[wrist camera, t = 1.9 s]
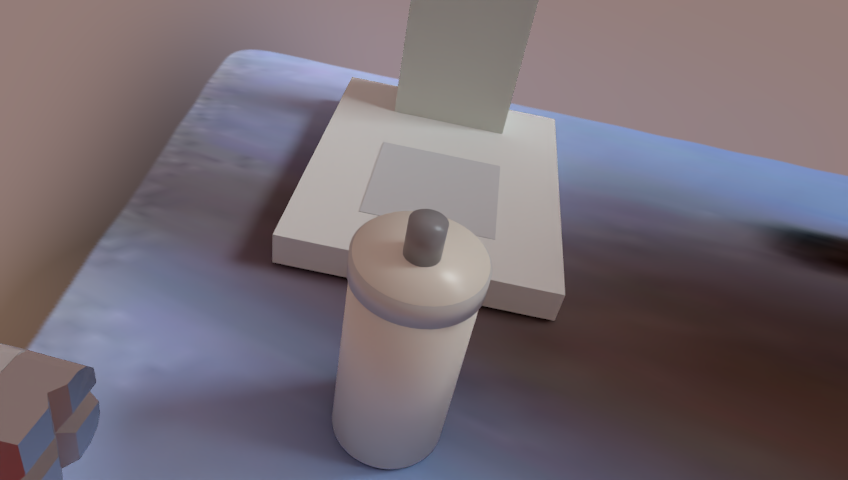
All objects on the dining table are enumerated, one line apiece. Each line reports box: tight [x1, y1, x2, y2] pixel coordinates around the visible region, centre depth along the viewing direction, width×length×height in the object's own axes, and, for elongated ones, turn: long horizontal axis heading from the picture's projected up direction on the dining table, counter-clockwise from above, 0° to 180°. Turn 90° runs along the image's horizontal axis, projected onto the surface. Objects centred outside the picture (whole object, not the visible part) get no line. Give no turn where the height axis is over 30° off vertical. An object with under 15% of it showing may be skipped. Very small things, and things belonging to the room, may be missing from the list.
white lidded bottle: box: [332, 209, 493, 469], centre depth 26 cm, size 5×5×12 cm
